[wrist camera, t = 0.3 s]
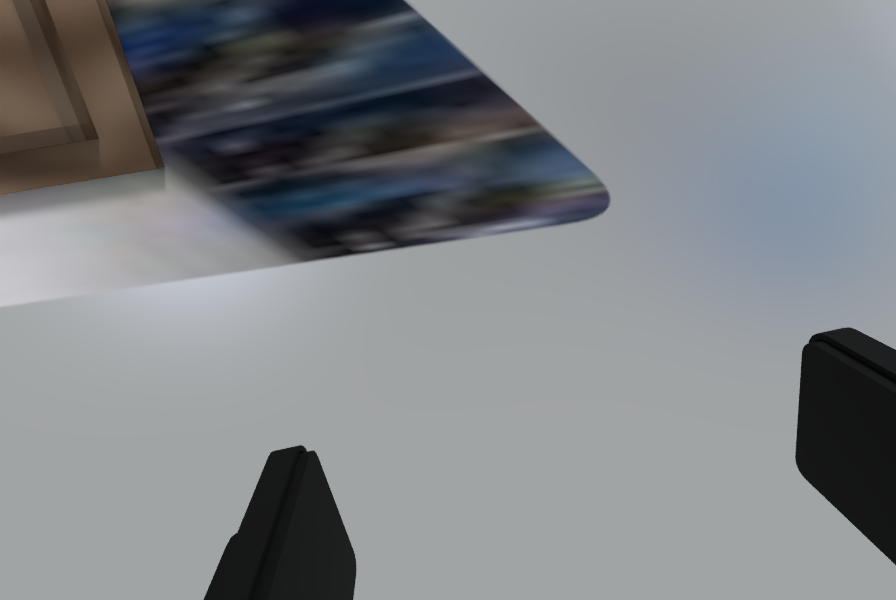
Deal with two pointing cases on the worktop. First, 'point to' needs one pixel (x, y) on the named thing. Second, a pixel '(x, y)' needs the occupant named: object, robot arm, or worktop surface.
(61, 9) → the holder
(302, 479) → the robot arm
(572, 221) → the worktop surface
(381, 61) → the worktop surface
